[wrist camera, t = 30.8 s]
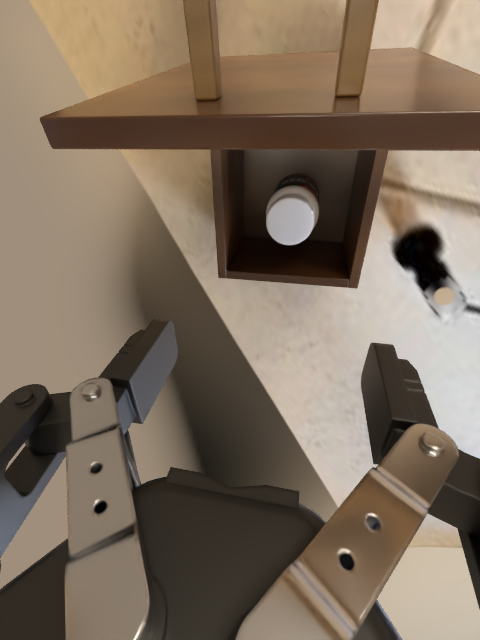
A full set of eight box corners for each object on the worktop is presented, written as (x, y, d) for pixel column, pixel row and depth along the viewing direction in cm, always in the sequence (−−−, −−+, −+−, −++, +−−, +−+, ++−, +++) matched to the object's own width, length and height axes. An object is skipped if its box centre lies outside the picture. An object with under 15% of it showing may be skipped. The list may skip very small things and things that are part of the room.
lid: (545, 151, 7) (847, -374, 3) (51, 149, 9) (-87, -173, 6) (408, 65, 18) (444, -76, 15) (203, 73, 21) (191, -48, 17)
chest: (348, 247, 35) (357, 288, 27) (239, 241, 37) (218, 277, 30) (381, 70, 26) (409, 57, 19) (235, 76, 29) (205, 66, 21)
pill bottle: (326, 180, 31) (328, 201, 24) (309, 225, 34) (308, 255, 27) (280, 167, 31) (270, 184, 25) (268, 213, 34) (256, 240, 27)
